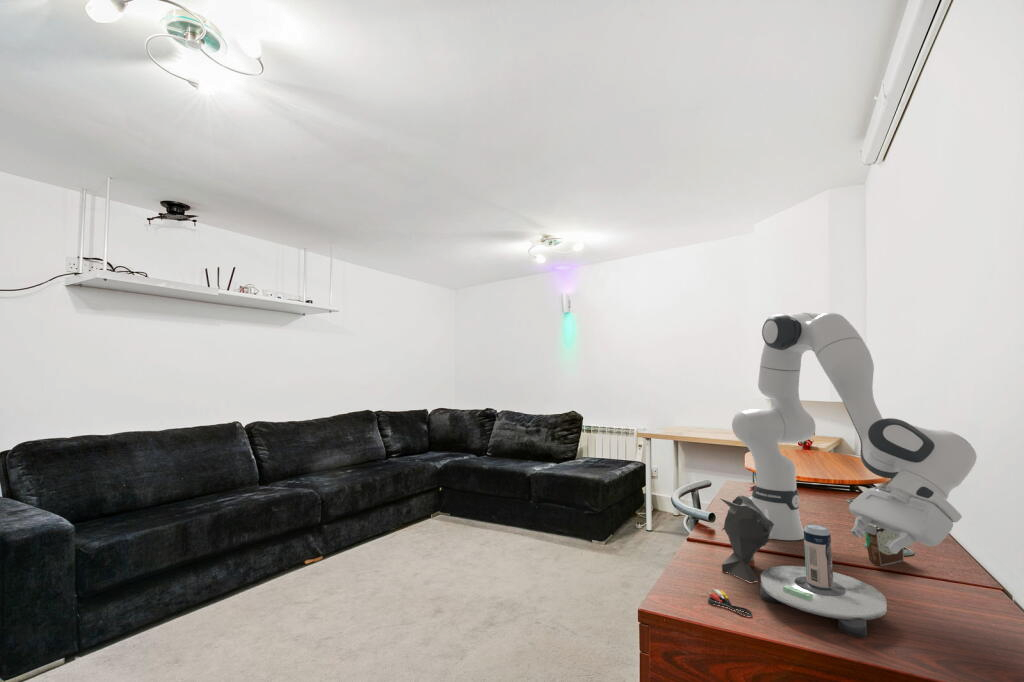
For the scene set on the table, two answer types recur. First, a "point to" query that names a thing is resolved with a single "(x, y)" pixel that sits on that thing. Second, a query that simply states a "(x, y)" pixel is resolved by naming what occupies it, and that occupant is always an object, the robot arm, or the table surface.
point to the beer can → (818, 556)
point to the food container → (881, 545)
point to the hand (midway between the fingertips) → (871, 542)
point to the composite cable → (725, 601)
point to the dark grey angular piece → (745, 536)
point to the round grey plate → (825, 597)
